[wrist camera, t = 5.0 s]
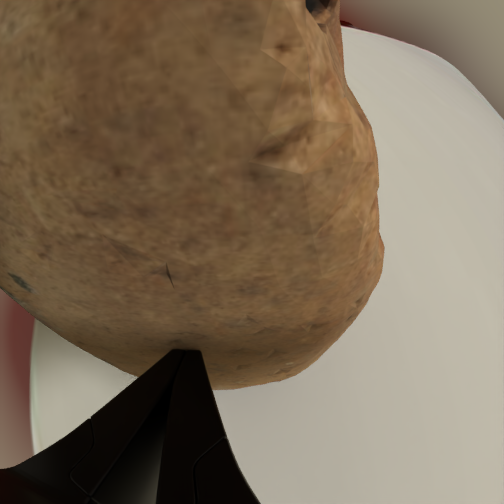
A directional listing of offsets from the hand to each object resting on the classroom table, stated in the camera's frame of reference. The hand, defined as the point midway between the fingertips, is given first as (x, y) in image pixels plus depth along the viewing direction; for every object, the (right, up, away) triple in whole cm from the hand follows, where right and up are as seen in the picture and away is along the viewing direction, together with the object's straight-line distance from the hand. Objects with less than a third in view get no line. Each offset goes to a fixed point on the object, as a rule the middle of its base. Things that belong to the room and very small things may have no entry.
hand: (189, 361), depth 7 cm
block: (0, -3, +10) cm, 11 cm away
